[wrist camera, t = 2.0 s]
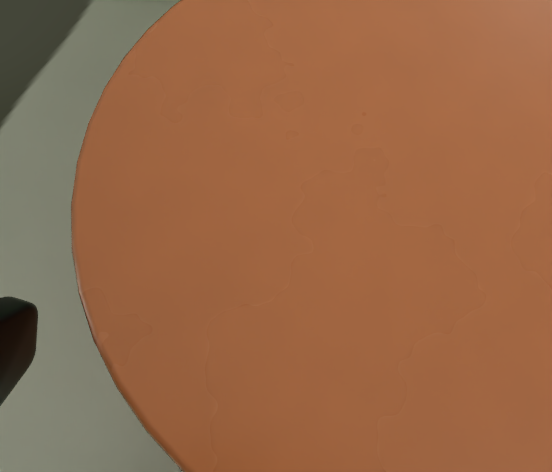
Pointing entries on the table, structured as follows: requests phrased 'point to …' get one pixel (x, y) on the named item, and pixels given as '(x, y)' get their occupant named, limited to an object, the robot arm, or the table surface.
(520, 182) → the copper pot
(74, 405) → the table surface
